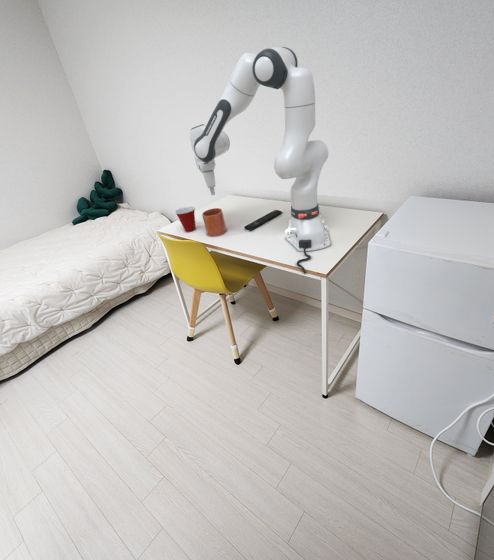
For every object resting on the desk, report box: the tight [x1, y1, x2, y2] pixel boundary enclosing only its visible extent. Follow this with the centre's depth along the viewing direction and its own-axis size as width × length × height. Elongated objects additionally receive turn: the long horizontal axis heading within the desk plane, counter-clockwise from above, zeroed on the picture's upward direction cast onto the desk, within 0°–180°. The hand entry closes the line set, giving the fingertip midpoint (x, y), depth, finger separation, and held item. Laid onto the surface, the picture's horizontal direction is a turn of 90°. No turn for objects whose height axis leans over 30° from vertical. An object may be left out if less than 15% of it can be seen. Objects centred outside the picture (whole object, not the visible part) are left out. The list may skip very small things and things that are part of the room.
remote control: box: [243, 209, 283, 231], centre depth 162 cm, size 5×24×1 cm, turn 133°
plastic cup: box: [174, 206, 197, 233], centre depth 166 cm, size 11×11×12 cm
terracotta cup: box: [201, 207, 227, 238], centre depth 158 cm, size 10×10×11 cm
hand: (212, 191), depth 153 cm, fingers open, 8 cm apart
